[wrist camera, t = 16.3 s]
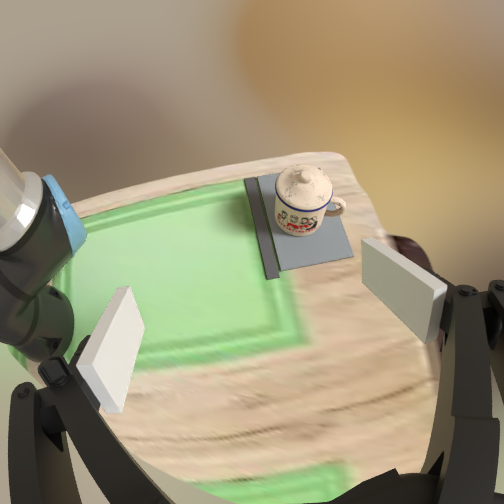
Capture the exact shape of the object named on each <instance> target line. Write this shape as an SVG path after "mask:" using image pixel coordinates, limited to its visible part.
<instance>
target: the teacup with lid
mask: <svg viewBox="0 0 504 504" xmlns="http://www.w3.org/2000/svg"><path fill="white" fill-rule="evenodd" d="M275 191H276V201H275V220H276V222H277V224H278V226H279V227H280V228H281V229H282V230H283V231H285V232H286V233H288V234H290V235H293V236H307V235H310V234H312V233H314V232H315V231H316V230H317V229H318V228H319V227H320V225H321V223H322V220H323V217H324V216H326V217H337V216H340V215H341V214H343V213H344V212H345V210H346V203H345V201H344V200H342V199H341V198H339V197H335V196H332V194H333V189H332V185H331V182H330V180H329V178H328V177H327V176H326V175H325V174H324V173H323V172H322V171H321V170H319V169H317V168H315V167H313V166H309V165H293V166H290V167H288V168H286V169H285V170H283V171H282V172H281V173H280V174H279V176H278V177H277V179H276V182H275ZM328 203H334V204H337V205H339V206H341V207H340V208H339V209H337V210H326V208H327V205H328Z"/></svg>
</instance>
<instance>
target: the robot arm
mask: <svg viewBox="0 0 504 504" xmlns="http://www.w3.org/2000/svg"><path fill="white" fill-rule="evenodd" d="M86 238H87V232H86V229H85V227H84V225H83V223H82V222H81V220H80V218H79V217H78V215H77V214H76V212H75V210H74V209H73V207H72V206H71V204H70V203H69V201H68V200H67V198H66V196H65V194H64V193H63V191H62V190H61V188H60V186H59V185H58V183H57V182H56V180H55V179H54V177H53V176H52V175H47V176H45V177H42V179H40V177H39V176H38V175H37V174H35V173H34V172H22V173H20V172H19V171H18V169H17V168H16V167H15V166H14V165H13V163H12V162H11V161H10V160H9V158H8V157H7V156H6V155H5V154H4V152H3V151H2V150H1V148H0V342H2V343H5V344H9V345H12V346H14V347H15V348H16V349H17V350H18V351H20V352H21V353H22V354H23V355H24V356H26V357H27V358H28V359H30V360H32V361H34V362H38V363H41V364H40V365H39V367H38V373H39V375H40V376H41V378H42V379H43V381H44V382H45V384H46V385H47V387H46V388H43V389H39V390H37V389H36V388H35V386H34V385H33V384H32V383H31V382H24V383H22V384H19V385H18V386H17V387H16V388H15V389H14V391H13V392H12V395H11V405H10V416H9V433H8V470H9V487H10V498H11V504H82V502H81V499H80V495H79V492H78V488H77V484H76V481H75V476H74V472H73V468H72V463H71V459H70V454H69V448H68V443H67V437H66V431H67V432H68V434H69V436H70V438H71V440H72V442H73V444H74V446H75V447H76V449H77V451H78V453H79V455H80V457H81V458H82V460H83V462H84V464H85V465H86V467H87V469H88V470H89V472H90V474H91V475H92V477H93V479H94V480H95V482H96V483H97V485H98V486H99V488H100V489H101V491H102V492H103V494H104V495H105V497H106V498H107V500H108V501H109V502H110V504H175V503H174V502H173V501H172V500H171V499H170V498H169V497H168V496H167V495H166V494H165V493H164V492H163V491H162V490H161V489H160V488H159V487H158V486H157V485H156V484H155V483H154V481H153V480H152V479H151V478H150V477H149V476H148V475H147V474H146V472H145V471H144V470H143V469H142V468H141V467H140V466H139V464H138V463H137V462H136V461H135V460H134V458H133V457H132V456H131V455H130V454H129V452H128V451H127V450H126V449H125V447H124V446H123V445H122V443H121V442H120V441H119V440H118V438H117V437H116V436H115V434H114V433H113V432H112V430H111V429H110V427H109V426H108V425H107V423H106V422H105V420H104V419H103V418H102V416H101V415H100V413H99V412H98V411H99V408H100V405H101V406H102V408H103V409H104V411H105V412H106V413H107V414H111V413H122V412H123V407H124V403H125V399H126V395H127V391H128V387H129V383H130V379H131V375H132V372H133V368H134V364H135V361H136V357H137V353H138V350H139V346H140V343H141V340H142V336H143V333H144V330H145V326H144V323H143V321H142V318H141V315H140V313H139V310H138V307H137V305H136V302H135V299H134V296H133V293H132V290H131V288H130V286H125V287H120V288H117V290H116V292H115V293H114V295H113V297H112V299H111V300H110V302H109V304H108V306H107V307H106V309H105V311H104V313H103V314H102V316H101V318H100V320H99V322H98V324H97V325H96V327H95V329H94V331H93V333H92V335H87V336H86V337H85V338H84V339H83V340H82V341H81V342H80V344H79V346H78V348H77V350H76V352H75V354H74V356H73V357H72V359H71V361H70V363H69V365H68V364H67V362H66V361H65V359H64V357H63V355H64V353H65V352H66V350H67V349H68V347H69V345H70V343H71V340H72V336H73V331H74V314H73V309H72V306H71V304H70V302H69V300H68V298H67V297H66V296H65V294H64V293H62V292H61V291H60V290H58V289H56V288H55V287H53V286H50V285H46V284H47V283H48V282H49V281H50V280H51V279H52V278H53V277H54V276H55V275H56V274H57V272H58V271H59V270H60V269H61V268H62V267H63V266H64V265H65V264H66V263H67V262H68V261H69V260H70V259H71V258H73V257H74V255H75V253H76V252H77V251H78V249H79V248H80V247H81V246H82V245H83V244H84V242H85V241H86ZM361 245H362V283H363V284H364V285H365V286H366V287H367V288H368V289H369V290H370V291H371V292H372V293H373V294H374V295H376V296H377V297H378V298H379V299H380V300H381V301H382V302H383V303H384V304H385V305H386V306H387V307H388V308H389V309H390V310H391V311H392V312H393V313H394V314H395V315H396V316H397V317H398V318H399V319H400V320H401V321H402V322H403V323H404V324H405V325H406V326H407V327H408V328H409V329H410V330H411V331H412V332H413V333H414V334H415V335H416V336H417V337H418V338H419V339H420V340H421V341H422V342H423V343H424V344H427V343H429V342H431V341H433V340H436V339H437V337H438V333H439V329H440V328H441V329H442V330H443V331H444V337H443V341H442V345H441V348H440V352H442V362H441V373H440V383H439V391H438V398H437V405H436V411H435V417H434V423H433V428H432V433H431V438H430V443H429V447H428V451H427V455H426V459H425V462H424V465H423V467H422V469H421V472H420V473H407V474H400V475H399V474H398V472H397V470H396V469H395V468H394V469H392V470H390V471H388V472H385V473H383V474H381V475H378V476H376V477H373V478H371V479H368V480H366V481H363V482H362V483H360V484H358V485H357V486H355V487H354V488H352V489H351V490H349V491H347V492H346V493H344V494H342V495H340V496H339V497H337V498H335V499H334V500H332V501H329V502H321V503H304V504H504V494H501V493H495V492H494V490H495V483H496V476H497V467H498V456H499V440H500V422H499V420H498V418H493V417H492V388H491V387H492V386H491V370H490V365H491V368H492V370H493V373H494V376H495V379H496V382H497V385H498V388H499V391H500V394H501V397H502V401H503V404H504V281H503V280H493V281H491V282H490V283H489V287H488V291H484V292H478V290H477V289H475V288H474V287H472V286H469V285H458V286H454V285H453V284H451V283H450V282H448V281H447V280H445V279H444V278H442V277H440V276H439V275H438V274H435V272H433V271H432V270H430V269H429V268H426V267H422V266H418V265H416V264H415V263H413V262H412V261H410V260H409V259H407V258H405V257H404V256H402V255H401V254H399V253H398V252H396V251H394V250H393V249H391V248H389V247H388V246H386V245H385V244H383V243H381V242H380V241H378V240H376V239H375V238H373V237H371V238H366V239H362V240H361Z"/></svg>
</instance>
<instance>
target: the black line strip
mask: <svg viewBox="0 0 504 504" xmlns="http://www.w3.org/2000/svg"><path fill="white" fill-rule="evenodd" d="M245 183H246V187H247V192H248V196H249V201H250V205H251V209H252V214H253V218H254V222H255V227H256V231H257V236H258V240H259V244H260V249H261V253H262V258H263V262H264V267H265V271H266V275H267V280H269V279H275V278H280V276H279V272H278V268H277V264H276V260H275V256H274V252H273V248H272V243H271V239H270V235H269V231H268V227H267V223H266V219H265V215H264V211H263V207H262V204H261V200H260V196H259V192H258V188H257V184H256V180H255V177H252V178H246V179H245Z"/></svg>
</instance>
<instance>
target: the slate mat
mask: <svg viewBox="0 0 504 504" xmlns="http://www.w3.org/2000/svg"><path fill="white" fill-rule="evenodd" d="M317 169H319V170H321V169H320V168H317ZM279 174H280V173H277V174H270V175H263V176H257V179H258V182H259V186H260V190H261V194H262V198H263V201H264V205H265V209H266V213H267V217H268V221H269V225H270V229H271V233H272V237H273V241H274V245H275V249H276V253H277V257H278V261H279V265H280V269H281V271H286V270H291V269H296V268H301V267H306V266H311V265H316V264H321V263H326V262H331V261H336V260H341V259H345V258H350V257H353V256H354V255H353V252H352V249H351V246H350V243H349V241H348V238H347V235H346V232H345V230H344V227H343V224H342V222H341V219H340V216H337V217H326V216H324V217H323V220H322V223H321V225H320V227H319V228H318V229H317V230H316V231H315V232H314V233H312V234H310V235H307V236H293V235H290V234H288V233H286V232H285V231H283V230H282V229H281V228H280V227H279V226H278V224H277V222H276V220H275V201H276V191H275V182H276V179H277V177H278V176H279ZM326 210H337V208H336V206H335V204H334V203H328V205H327V208H326Z"/></svg>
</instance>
